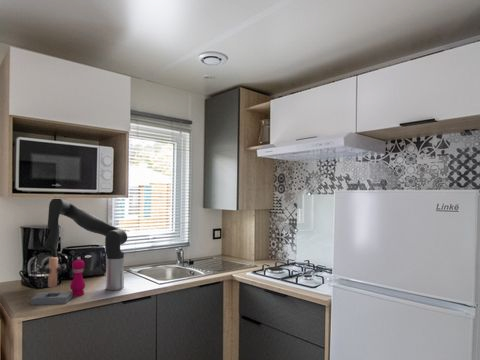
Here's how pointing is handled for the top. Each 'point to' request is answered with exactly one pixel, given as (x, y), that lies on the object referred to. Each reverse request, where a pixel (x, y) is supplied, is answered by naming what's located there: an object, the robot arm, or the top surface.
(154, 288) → the top surface
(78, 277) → the pepper mill
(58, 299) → the socket block
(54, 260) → the dowel
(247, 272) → the top surface
